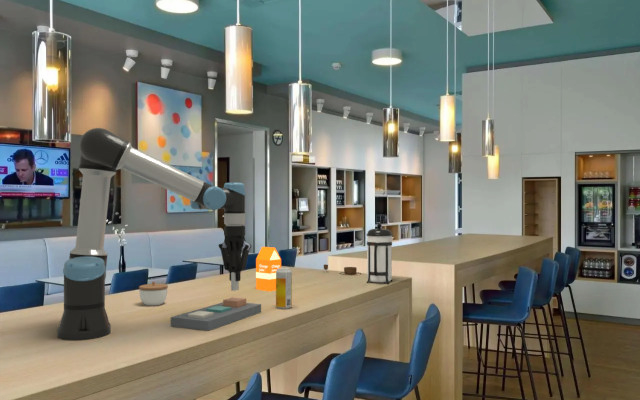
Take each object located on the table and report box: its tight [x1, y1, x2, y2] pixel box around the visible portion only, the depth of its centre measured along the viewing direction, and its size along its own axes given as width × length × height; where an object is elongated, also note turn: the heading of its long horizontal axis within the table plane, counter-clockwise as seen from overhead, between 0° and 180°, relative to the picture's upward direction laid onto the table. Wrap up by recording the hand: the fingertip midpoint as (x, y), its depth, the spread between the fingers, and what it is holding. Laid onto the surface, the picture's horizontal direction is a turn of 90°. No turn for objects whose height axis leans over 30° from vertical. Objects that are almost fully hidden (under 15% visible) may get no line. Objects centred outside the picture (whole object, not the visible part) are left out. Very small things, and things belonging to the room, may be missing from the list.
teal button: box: [206, 306, 231, 313], centre depth 189 cm, size 6×6×3 cm
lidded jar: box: [138, 281, 169, 307], centre depth 214 cm, size 11×11×9 cm
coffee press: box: [366, 223, 393, 285], centre depth 270 cm, size 17×16×30 cm
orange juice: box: [255, 246, 282, 292], centre depth 250 cm, size 8×9×20 cm
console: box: [170, 301, 262, 332], centre depth 189 cm, size 32×15×3 cm, turn 155°
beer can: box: [275, 267, 293, 310], centre depth 209 cm, size 6×6×15 cm
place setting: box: [323, 264, 362, 276], centre depth 306 cm, size 18×20×6 cm
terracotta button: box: [222, 296, 247, 308], centre depth 198 cm, size 6×6×3 cm
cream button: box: [188, 311, 214, 318], centre depth 180 cm, size 6×6×3 cm
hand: (235, 290), depth 198 cm, fingers closed
